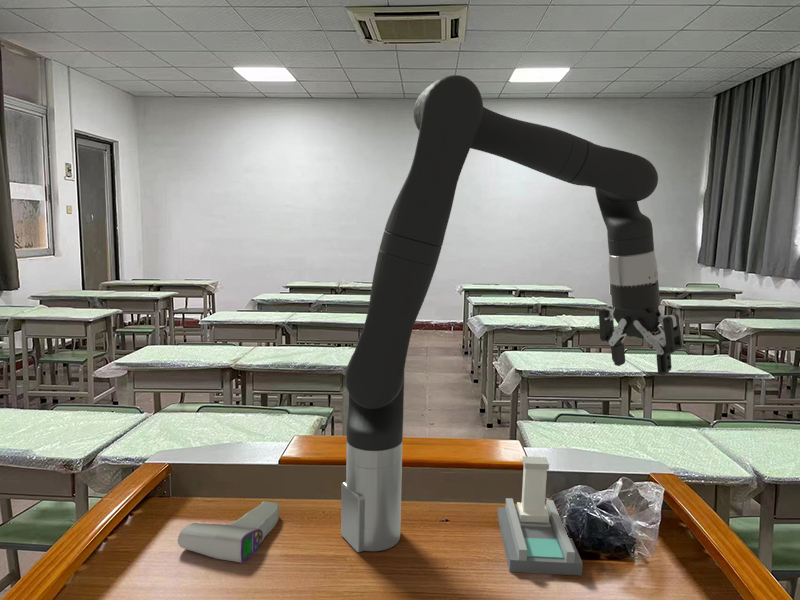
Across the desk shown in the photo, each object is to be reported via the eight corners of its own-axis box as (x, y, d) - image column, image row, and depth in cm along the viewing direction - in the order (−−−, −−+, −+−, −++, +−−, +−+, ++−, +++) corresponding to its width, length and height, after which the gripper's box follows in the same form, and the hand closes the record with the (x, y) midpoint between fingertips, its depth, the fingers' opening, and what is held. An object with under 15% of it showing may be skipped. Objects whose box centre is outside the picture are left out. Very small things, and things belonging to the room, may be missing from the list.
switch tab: (548, 522, 98) (552, 466, 97) (520, 521, 98) (523, 465, 97) (543, 509, 103) (547, 455, 101) (516, 508, 103) (519, 454, 101)
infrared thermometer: (284, 523, 104) (245, 567, 89) (222, 514, 106) (175, 556, 91) (285, 498, 103) (246, 539, 89) (223, 490, 106) (175, 528, 91)
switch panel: (581, 575, 88) (583, 552, 88) (509, 571, 89) (510, 549, 88) (558, 520, 104) (560, 500, 104) (497, 517, 105) (498, 497, 104)
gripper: (584, 281, 101) (593, 368, 104) (659, 286, 89) (666, 384, 92) (611, 271, 105) (619, 355, 108) (686, 275, 93) (693, 370, 96)
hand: (641, 369), depth 100 cm, fingers open, 8 cm apart
